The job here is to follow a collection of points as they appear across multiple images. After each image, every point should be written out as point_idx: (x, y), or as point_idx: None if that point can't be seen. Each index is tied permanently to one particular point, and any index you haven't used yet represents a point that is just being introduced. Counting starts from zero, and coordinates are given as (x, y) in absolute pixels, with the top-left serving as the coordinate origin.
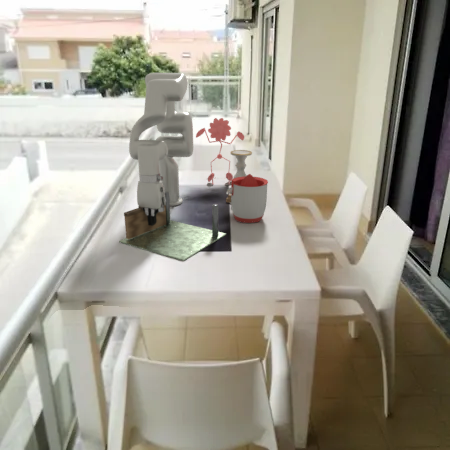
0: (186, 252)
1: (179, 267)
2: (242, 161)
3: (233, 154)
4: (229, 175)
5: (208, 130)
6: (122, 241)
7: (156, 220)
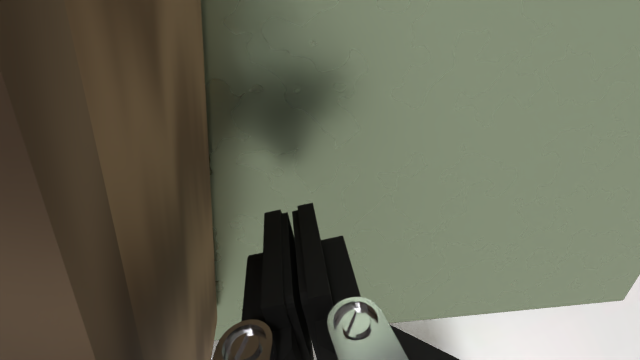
0: (623, 242)
1: (610, 333)
2: None
3: None
4: None
5: None
6: None
7: (345, 244)
